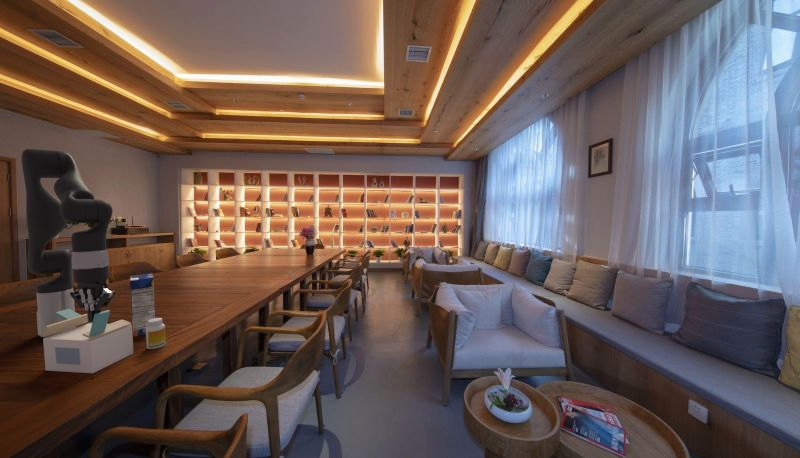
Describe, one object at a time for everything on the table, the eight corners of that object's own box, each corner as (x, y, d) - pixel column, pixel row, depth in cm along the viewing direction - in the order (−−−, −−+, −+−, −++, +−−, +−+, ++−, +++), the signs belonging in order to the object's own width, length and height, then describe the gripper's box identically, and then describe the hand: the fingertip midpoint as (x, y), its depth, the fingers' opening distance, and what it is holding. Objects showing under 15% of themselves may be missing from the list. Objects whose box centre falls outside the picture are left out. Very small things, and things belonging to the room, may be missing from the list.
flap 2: (82, 335, 85) (88, 312, 85) (121, 320, 96) (127, 300, 96) (92, 339, 85) (98, 316, 84) (130, 324, 96) (136, 304, 96)
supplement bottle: (169, 343, 104) (168, 318, 104) (152, 350, 99) (151, 323, 99) (159, 341, 106) (158, 316, 106) (142, 348, 101) (141, 321, 100)
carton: (45, 370, 87) (42, 338, 86) (91, 351, 99) (89, 323, 98) (92, 373, 85) (90, 341, 85) (133, 353, 97) (131, 324, 97)
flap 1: (90, 313, 97) (71, 303, 98) (47, 326, 86) (26, 315, 87) (87, 322, 98) (68, 312, 98) (43, 336, 87) (23, 325, 87)
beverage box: (133, 336, 110) (129, 280, 109) (133, 327, 118) (130, 275, 117) (156, 331, 115) (153, 277, 113) (155, 323, 123) (152, 273, 121)
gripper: (55, 267, 83) (59, 325, 84) (96, 268, 82) (100, 327, 83) (86, 262, 90) (89, 316, 91) (124, 263, 89) (127, 317, 90)
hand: (94, 321), depth 87 cm, fingers closed
